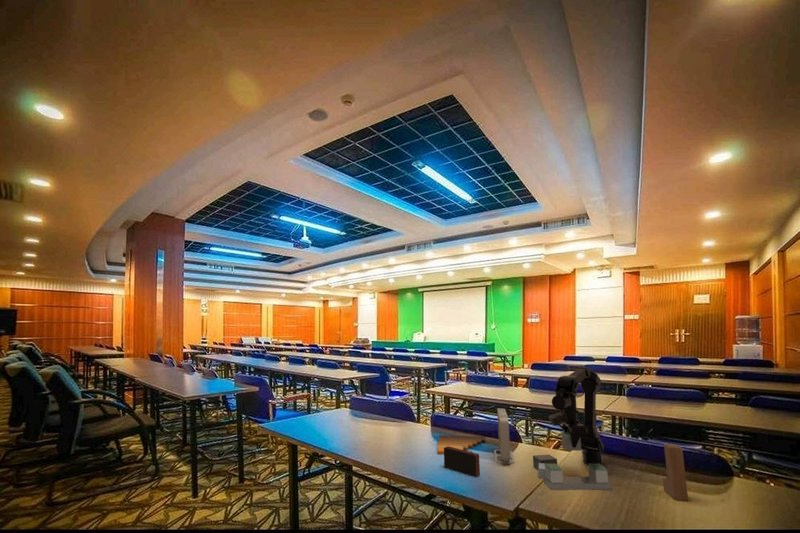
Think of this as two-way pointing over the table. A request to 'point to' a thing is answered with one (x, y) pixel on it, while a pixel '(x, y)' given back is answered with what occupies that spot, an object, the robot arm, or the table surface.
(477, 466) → the radio
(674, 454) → the wooden block
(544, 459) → the loose grey block
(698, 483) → the table surface
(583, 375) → the robot arm
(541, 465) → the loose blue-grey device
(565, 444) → the block
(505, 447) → the network device
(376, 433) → the table surface
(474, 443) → the pan flute
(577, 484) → the rail
